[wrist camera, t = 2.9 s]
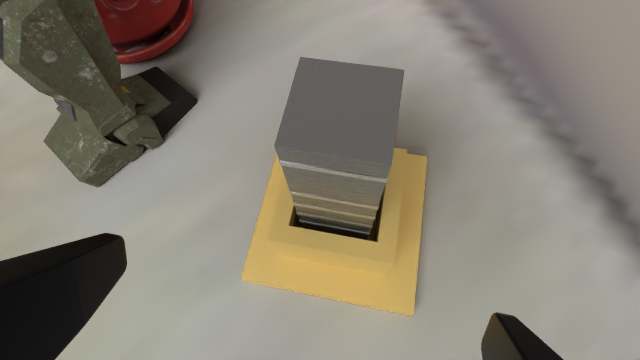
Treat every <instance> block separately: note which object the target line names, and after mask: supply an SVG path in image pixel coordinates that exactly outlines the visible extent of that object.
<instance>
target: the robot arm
mask: <svg viewBox="0 0 640 360" xmlns="http://www.w3.org/2000/svg"><path fill="white" fill-rule="evenodd" d="M126 267H127V258H126V250H125V242H124V239H123V237H121V236H120V235H115V234H110V233H103V234H99V235H96V236H92V237H88V238H84V239H81V240H77V241H73V242H70V243H66V244H62V245H59V246H55V247H51V248H47V249H44V250H40V251H36V252H33V253H29V254H25V255H21V256H18V257H14V258H10V259H7V260H3V261H0V360H55V359H56V358H57V357H58V355H59V354H60V353H61V352H62V351H63V350H64V349H65V348H66V346H67V345H68V344H69V343H70V342H71V341H72V340H73V339H74V337H75V336H76V335H77V334H78V333H79V332H80V330H81V329H82V328H83V327H84V326H85V324H86V323H87V322H88V321H89V319H90V318H91V317H92V315H93V314H94V313H95V311H96V310H97V309H98V307H99V306H100V305H101V303H102V302H103V301H104V299H105V298H106V296H107V295H108V294H109V292H110V291H111V290H112V288H113V287H114V286H115V284H116V283H117V282H118V280H119V279H120V278H121V276H122V275H123V273H124V272H125V270H126ZM481 350H482V358H483V360H563V359H562V358H561V357H560V356H559V355H558V354H557V353H556V352H554V351H553V350H552V349H551V348H550V347H549V346H548V345H547V344H545V343H544V342H543V341H542V340H541V339H540V338H539V337H538V336H536V335H535V334H534V333H533V332H532V331H531V330H530V329H529V328H527V327H526V326H525V325H524V324H523V323H522V322H521V321H520V320H518V319H517V318H516V317H515V316H512V315H508V314H503V313H498V312H496V313H494V314H493V315H492V316H491V318H490V321H489V323H488V326H487V328H486V331H485V334H484V336H483V339H482V344H481Z"/></svg>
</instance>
